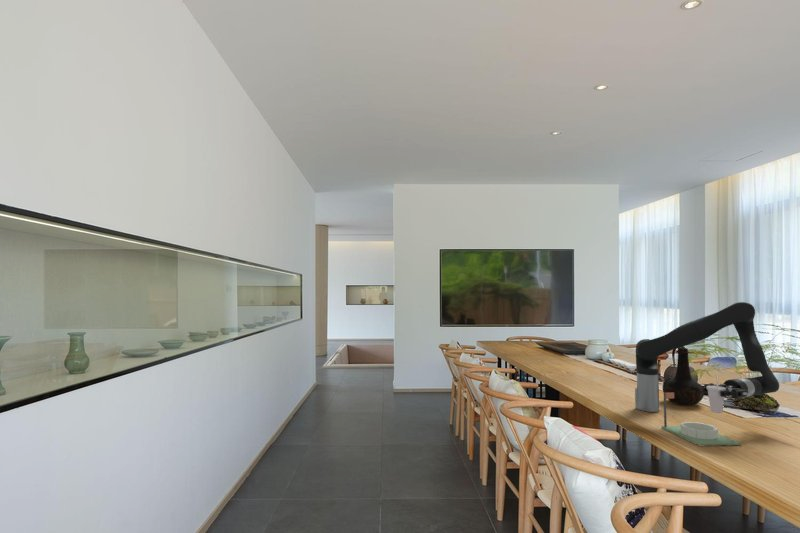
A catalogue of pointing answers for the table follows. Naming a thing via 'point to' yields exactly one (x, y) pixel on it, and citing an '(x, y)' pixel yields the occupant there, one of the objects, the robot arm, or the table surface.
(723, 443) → the practice green
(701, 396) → the glass bottle
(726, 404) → the picture frame
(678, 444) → the table surface
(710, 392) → the smoothie
